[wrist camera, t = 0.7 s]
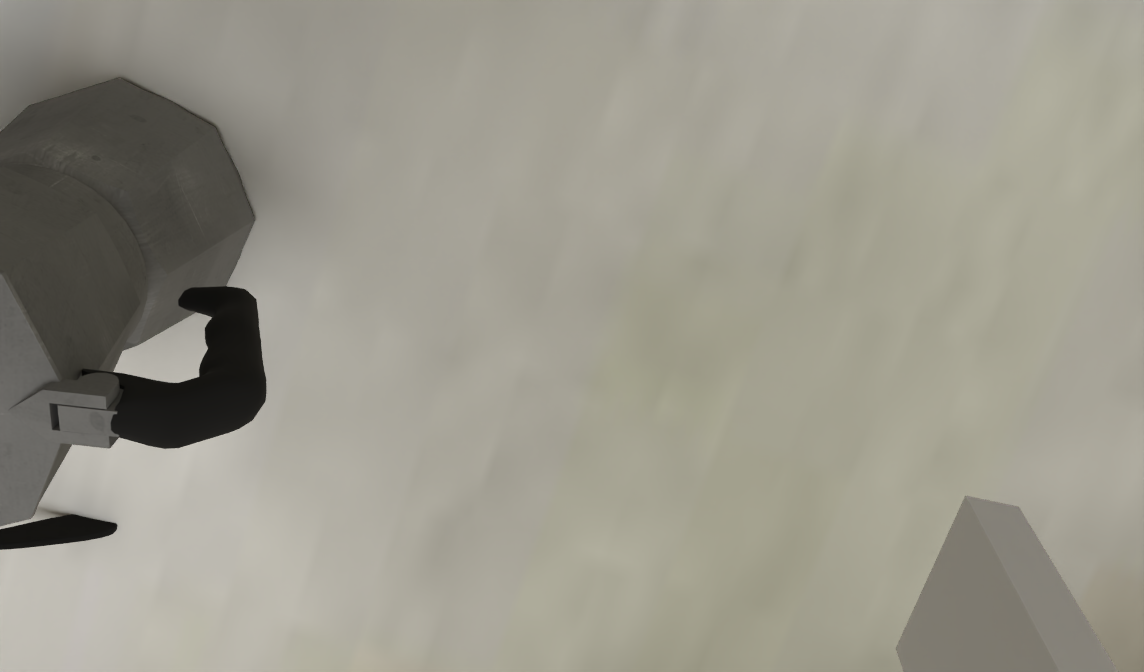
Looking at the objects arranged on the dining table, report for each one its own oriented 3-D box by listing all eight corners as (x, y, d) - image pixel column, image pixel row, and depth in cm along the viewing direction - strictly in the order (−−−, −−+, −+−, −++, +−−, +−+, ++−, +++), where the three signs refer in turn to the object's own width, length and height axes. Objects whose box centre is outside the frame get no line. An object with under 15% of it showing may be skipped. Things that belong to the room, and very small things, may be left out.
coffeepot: (-33, 300, 41) (-458, 595, 25) (-67, 52, 37) (-597, 206, 21) (366, 345, 41) (208, 665, 25) (374, 102, 38) (193, 293, 21)
